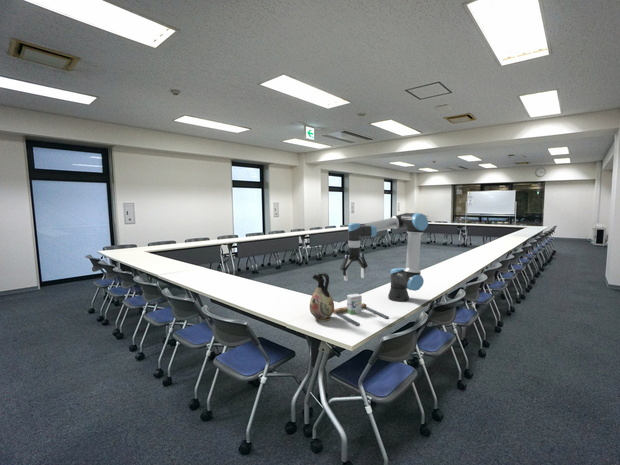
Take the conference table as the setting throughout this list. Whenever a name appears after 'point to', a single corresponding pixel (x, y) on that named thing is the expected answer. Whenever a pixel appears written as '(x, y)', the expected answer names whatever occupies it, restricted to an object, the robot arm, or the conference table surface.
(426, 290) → the conference table surface
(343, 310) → the end stop
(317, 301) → the ceramic jug
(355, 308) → the ink box
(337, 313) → the guide rails
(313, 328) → the conference table surface
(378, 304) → the conference table surface
